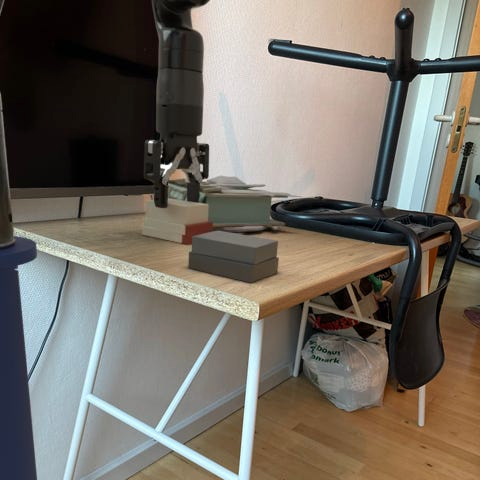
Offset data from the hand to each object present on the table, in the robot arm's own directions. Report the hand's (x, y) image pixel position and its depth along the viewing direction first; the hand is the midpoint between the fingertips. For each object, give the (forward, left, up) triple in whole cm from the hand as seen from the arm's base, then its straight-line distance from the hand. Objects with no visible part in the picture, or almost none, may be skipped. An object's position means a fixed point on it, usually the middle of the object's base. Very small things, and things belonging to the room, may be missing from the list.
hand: (177, 205), depth 84 cm
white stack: (0, 0, -5) cm, 5 cm away
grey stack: (-12, -20, -5) cm, 24 cm away
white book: (0, 0, -2) cm, 2 cm away
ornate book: (+20, +5, -6) cm, 21 cm away
